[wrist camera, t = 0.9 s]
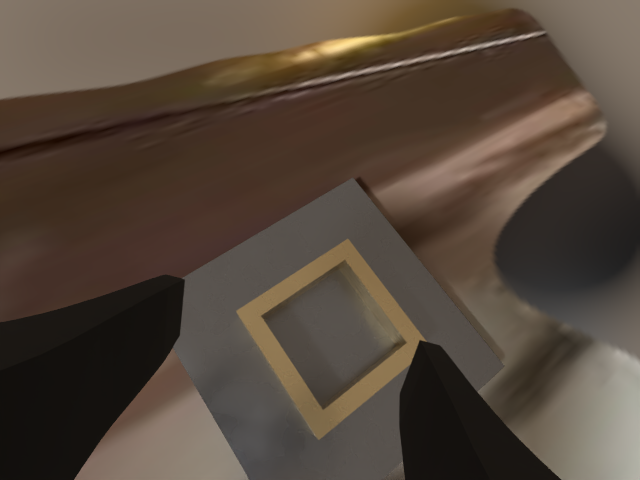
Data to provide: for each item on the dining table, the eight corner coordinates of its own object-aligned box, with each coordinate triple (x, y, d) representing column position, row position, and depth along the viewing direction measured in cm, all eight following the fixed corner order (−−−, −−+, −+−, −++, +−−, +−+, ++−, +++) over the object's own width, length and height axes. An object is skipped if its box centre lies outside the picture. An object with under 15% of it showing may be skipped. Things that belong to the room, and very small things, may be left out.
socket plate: (495, 366, 25) (524, 364, 22) (294, 551, 20) (298, 578, 17) (350, 184, 29) (359, 162, 26) (150, 303, 24) (134, 292, 21)
